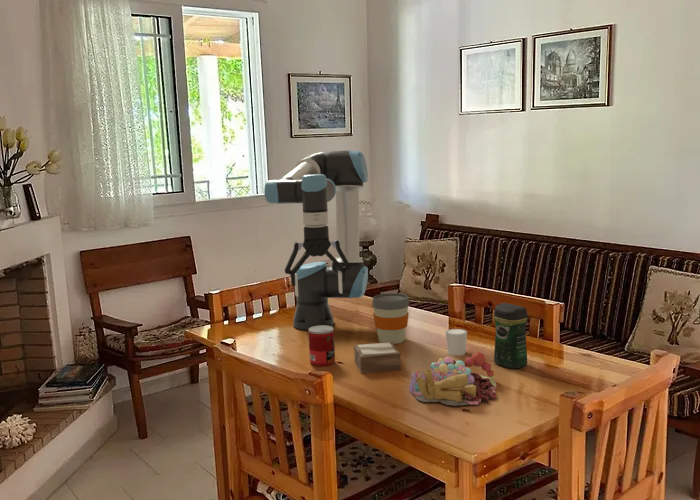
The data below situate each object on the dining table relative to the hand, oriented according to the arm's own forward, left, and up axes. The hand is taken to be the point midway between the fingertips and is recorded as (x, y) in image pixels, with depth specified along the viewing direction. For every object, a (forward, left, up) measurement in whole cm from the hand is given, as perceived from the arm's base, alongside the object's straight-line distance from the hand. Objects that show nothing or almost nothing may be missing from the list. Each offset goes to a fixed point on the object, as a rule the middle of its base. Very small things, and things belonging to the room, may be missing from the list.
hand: (318, 294), depth 211 cm
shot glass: (+2, +43, -22) cm, 49 cm away
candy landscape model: (+32, +32, -23) cm, 51 cm away
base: (+7, +16, -22) cm, 28 cm away
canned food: (0, 0, -22) cm, 22 cm away
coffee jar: (+17, +55, -22) cm, 62 cm away
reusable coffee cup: (-17, +26, -22) cm, 38 cm away
